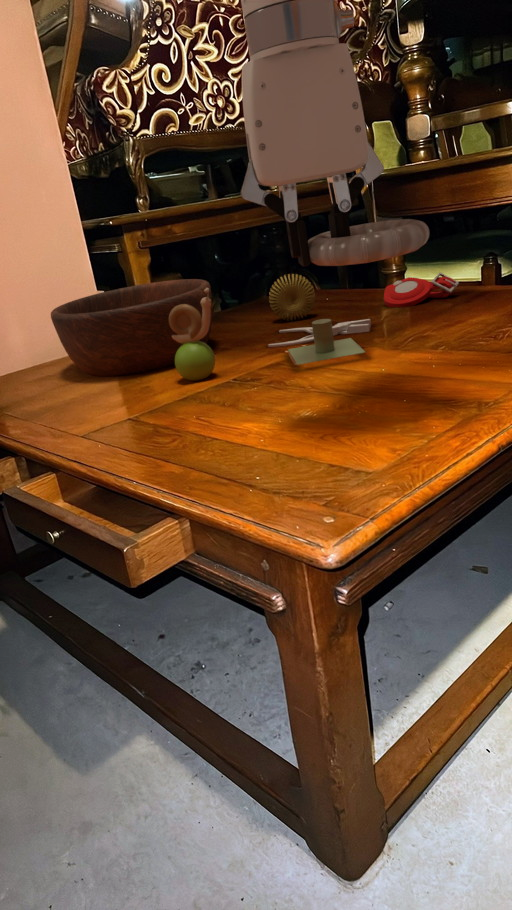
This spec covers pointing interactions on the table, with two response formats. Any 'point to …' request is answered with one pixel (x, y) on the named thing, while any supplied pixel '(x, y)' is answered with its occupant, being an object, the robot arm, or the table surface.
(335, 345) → the stand
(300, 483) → the table surface
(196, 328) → the snail figurine
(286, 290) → the sculpture
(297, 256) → the robot arm
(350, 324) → the pliers
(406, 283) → the tracker holder
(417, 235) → the bracelet
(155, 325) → the wooden bowl
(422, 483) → the table surface
